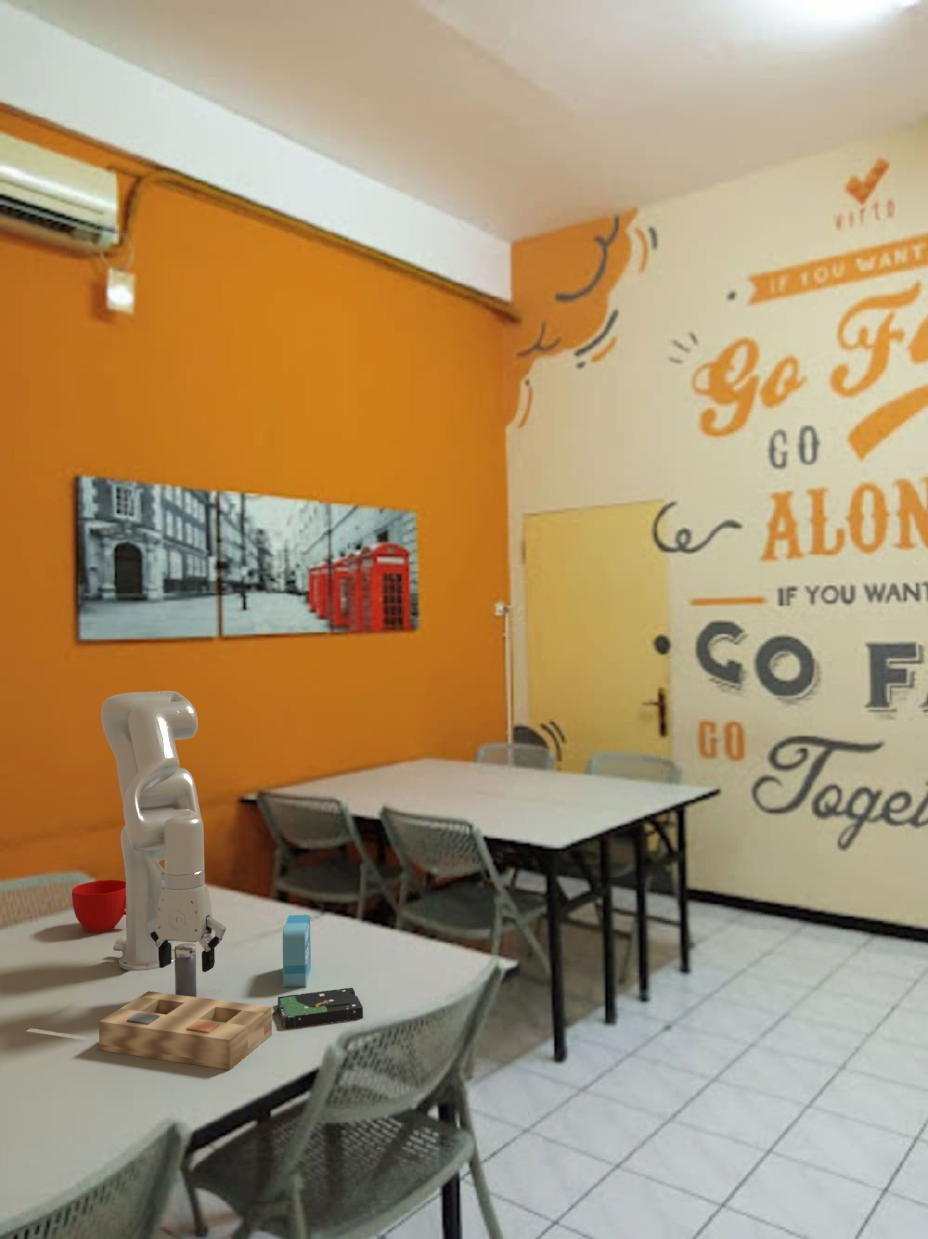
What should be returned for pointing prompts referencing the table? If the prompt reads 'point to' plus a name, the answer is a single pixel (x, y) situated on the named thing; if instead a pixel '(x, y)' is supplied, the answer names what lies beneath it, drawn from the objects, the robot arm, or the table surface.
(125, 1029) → the socket block
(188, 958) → the plug
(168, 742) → the robot arm
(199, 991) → the rubber mat
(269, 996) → the table surface
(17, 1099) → the table surface
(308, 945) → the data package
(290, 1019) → the disk drive
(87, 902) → the ceramic cup
